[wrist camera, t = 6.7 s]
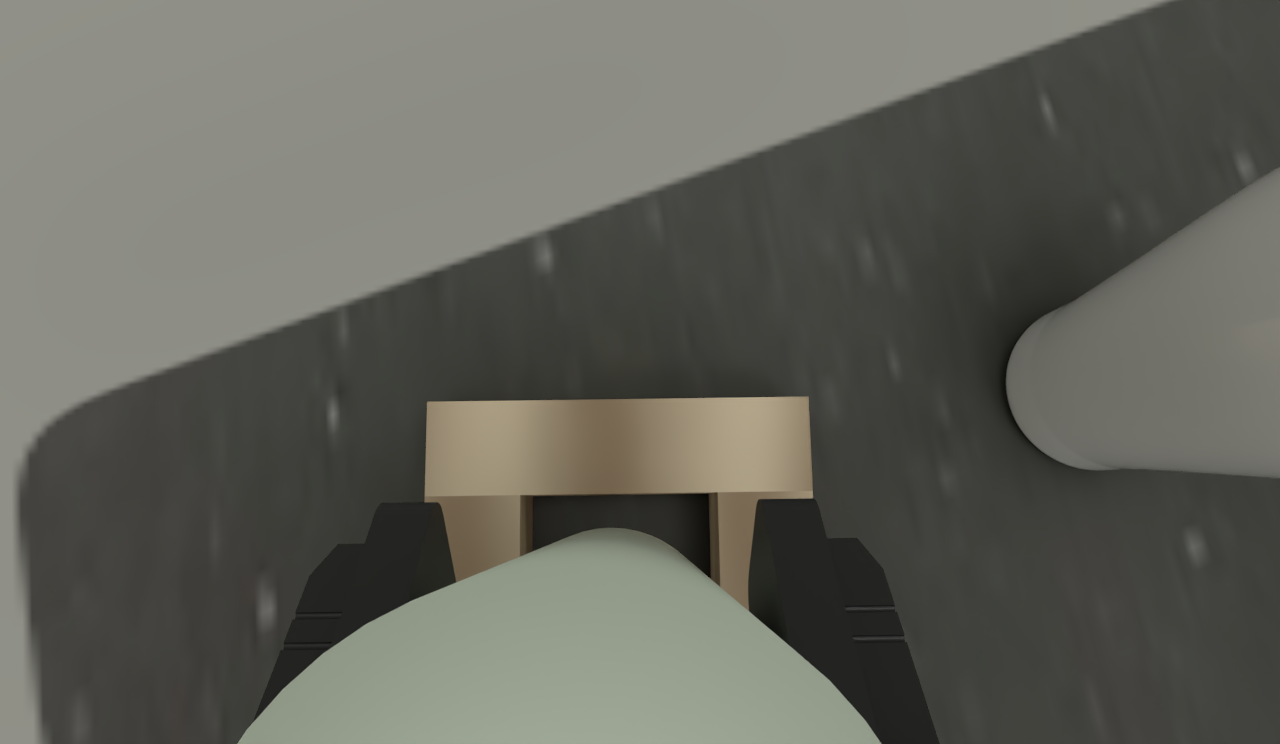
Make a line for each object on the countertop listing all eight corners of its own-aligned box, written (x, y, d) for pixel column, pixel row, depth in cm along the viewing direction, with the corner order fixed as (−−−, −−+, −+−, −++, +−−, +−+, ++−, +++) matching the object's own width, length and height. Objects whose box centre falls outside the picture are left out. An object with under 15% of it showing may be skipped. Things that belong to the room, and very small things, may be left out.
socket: (789, 408, 27) (808, 396, 24) (804, 768, 26) (826, 803, 23) (449, 413, 27) (427, 401, 24) (442, 774, 25) (416, 810, 23)
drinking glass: (958, 301, 28) (1324, 70, 13) (1158, 276, 28) (1743, 21, 13) (997, 507, 27) (1443, 508, 12) (1204, 480, 27) (1896, 449, 12)
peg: (716, 526, 17) (935, 563, 5) (723, 753, 16) (995, 1462, 4) (503, 528, 16) (175, 573, 5) (499, 756, 16) (108, 1486, 4)
